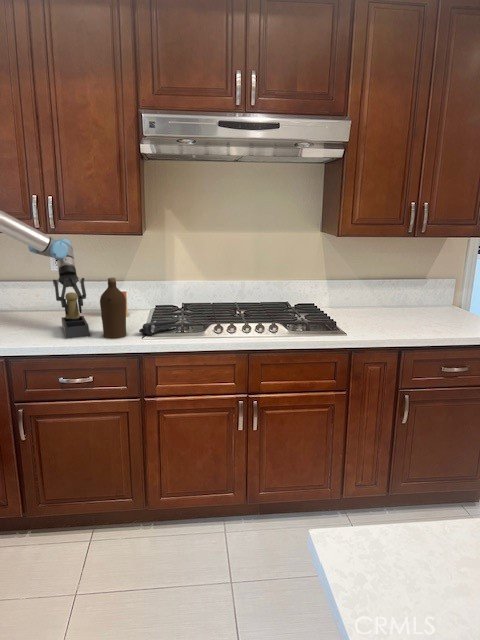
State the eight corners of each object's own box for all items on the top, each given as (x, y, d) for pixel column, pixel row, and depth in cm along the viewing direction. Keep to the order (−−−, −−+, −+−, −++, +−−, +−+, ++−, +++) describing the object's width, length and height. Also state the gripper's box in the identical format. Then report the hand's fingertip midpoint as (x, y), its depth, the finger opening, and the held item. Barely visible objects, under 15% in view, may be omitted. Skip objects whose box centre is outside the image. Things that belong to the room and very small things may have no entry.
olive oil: (130, 337, 197) (127, 279, 191) (105, 340, 193) (101, 281, 186) (124, 331, 206) (121, 275, 200) (99, 333, 202) (96, 277, 195)
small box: (110, 317, 228) (109, 291, 224) (111, 314, 234) (109, 288, 230) (127, 316, 230) (126, 291, 226) (127, 313, 236) (126, 288, 232)
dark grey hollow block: (65, 338, 194) (64, 327, 193) (62, 327, 210) (61, 317, 209) (89, 336, 198) (88, 325, 197) (84, 325, 214) (83, 315, 212)
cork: (82, 317, 208) (81, 292, 205) (71, 319, 202) (70, 294, 200) (73, 314, 210) (72, 290, 208) (62, 317, 205) (61, 292, 203)
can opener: (145, 337, 197) (145, 325, 195) (137, 334, 202) (137, 321, 200) (180, 330, 208) (180, 318, 207) (172, 326, 213) (171, 315, 212)
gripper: (45, 265, 205) (51, 309, 195) (88, 263, 213) (95, 306, 203) (45, 275, 211) (51, 318, 201) (87, 272, 219) (94, 314, 209)
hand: (73, 312), depth 202 cm, fingers closed on cork, 5 cm apart
